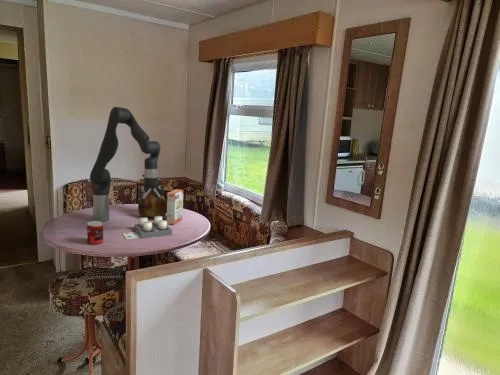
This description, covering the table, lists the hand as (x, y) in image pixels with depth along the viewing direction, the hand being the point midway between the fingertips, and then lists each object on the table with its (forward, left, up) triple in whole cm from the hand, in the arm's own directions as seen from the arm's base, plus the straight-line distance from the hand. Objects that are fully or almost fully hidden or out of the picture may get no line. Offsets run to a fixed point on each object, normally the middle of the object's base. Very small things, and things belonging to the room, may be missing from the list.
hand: (151, 204), depth 204 cm
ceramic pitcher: (+12, +36, -19) cm, 43 cm away
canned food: (-30, -2, -19) cm, 36 cm away
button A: (-2, +9, -16) cm, 18 cm away
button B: (+7, +9, -16) cm, 20 cm away
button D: (+7, 0, -16) cm, 17 cm away
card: (-10, +2, -19) cm, 21 cm away
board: (+3, +5, -19) cm, 20 cm away
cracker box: (+22, +20, -19) cm, 35 cm away
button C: (-2, 0, -16) cm, 16 cm away
